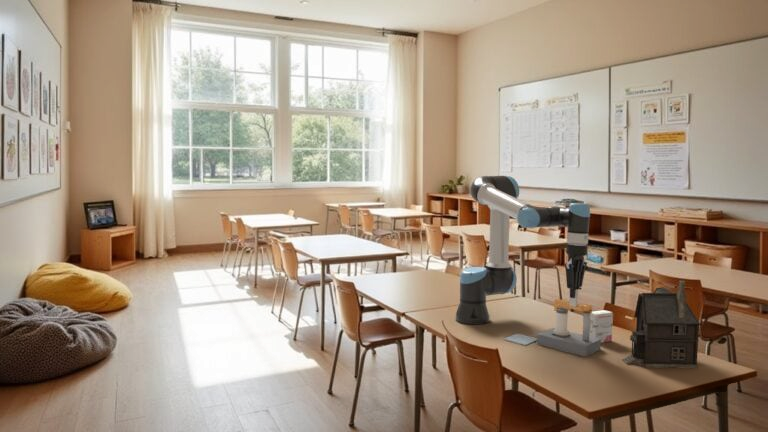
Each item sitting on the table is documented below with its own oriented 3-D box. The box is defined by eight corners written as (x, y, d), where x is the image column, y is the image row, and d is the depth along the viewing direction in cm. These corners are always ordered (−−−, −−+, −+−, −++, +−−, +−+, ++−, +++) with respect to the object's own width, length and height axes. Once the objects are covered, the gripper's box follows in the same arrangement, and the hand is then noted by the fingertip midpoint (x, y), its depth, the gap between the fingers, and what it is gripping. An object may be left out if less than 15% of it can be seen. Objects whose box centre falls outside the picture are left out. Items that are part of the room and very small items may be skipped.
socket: (536, 343, 217) (537, 306, 216) (552, 337, 226) (553, 301, 224) (585, 356, 203) (586, 316, 202) (600, 349, 211) (601, 310, 210)
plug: (549, 344, 217) (551, 309, 215) (557, 341, 221) (558, 306, 220) (564, 348, 212) (565, 312, 211) (571, 345, 216) (573, 309, 215)
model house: (612, 351, 209) (615, 272, 207) (675, 352, 209) (679, 273, 206) (629, 367, 193) (633, 281, 190) (698, 368, 192) (703, 282, 190)
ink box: (603, 337, 226) (604, 309, 225) (612, 341, 221) (613, 312, 220) (586, 340, 222) (587, 311, 221) (595, 343, 218) (596, 314, 217)
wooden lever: (552, 310, 219) (553, 298, 218) (558, 309, 221) (559, 297, 220) (587, 320, 206) (588, 307, 205) (593, 318, 208) (594, 305, 207)
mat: (503, 339, 223) (503, 338, 223) (517, 334, 230) (517, 333, 230) (525, 345, 215) (525, 344, 215) (538, 340, 222) (538, 339, 222)
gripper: (578, 246, 203) (573, 310, 204) (594, 244, 211) (590, 306, 213) (559, 243, 208) (555, 306, 210) (576, 242, 217) (572, 302, 218)
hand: (573, 306), depth 211 cm, fingers closed
